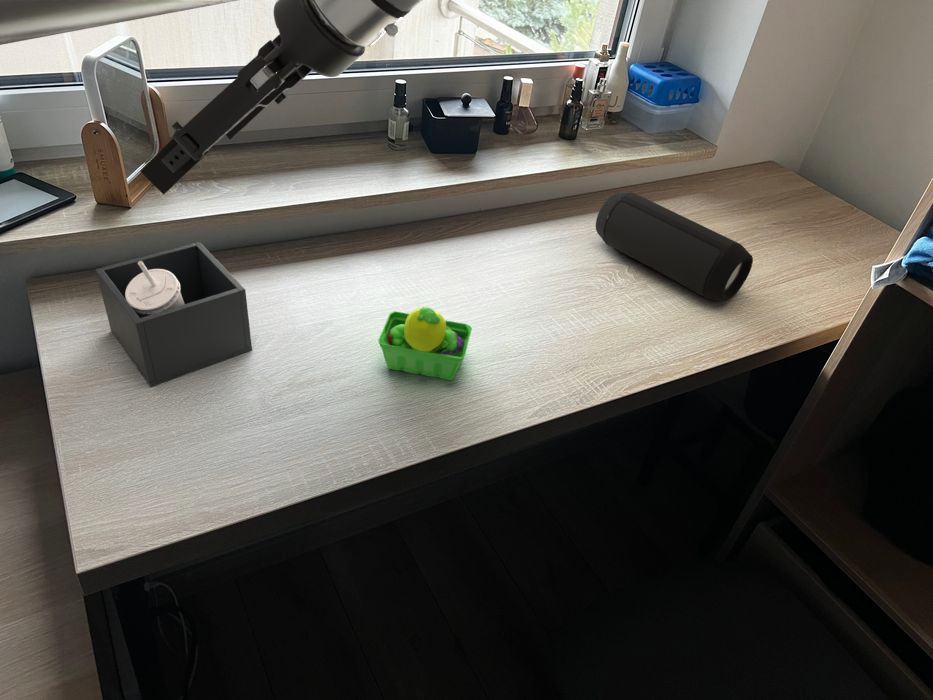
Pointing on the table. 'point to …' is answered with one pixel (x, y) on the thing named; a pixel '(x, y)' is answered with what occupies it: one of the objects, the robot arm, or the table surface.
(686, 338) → the table surface
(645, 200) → the portable speaker
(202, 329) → the bin
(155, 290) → the smoothie
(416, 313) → the fruit basket
